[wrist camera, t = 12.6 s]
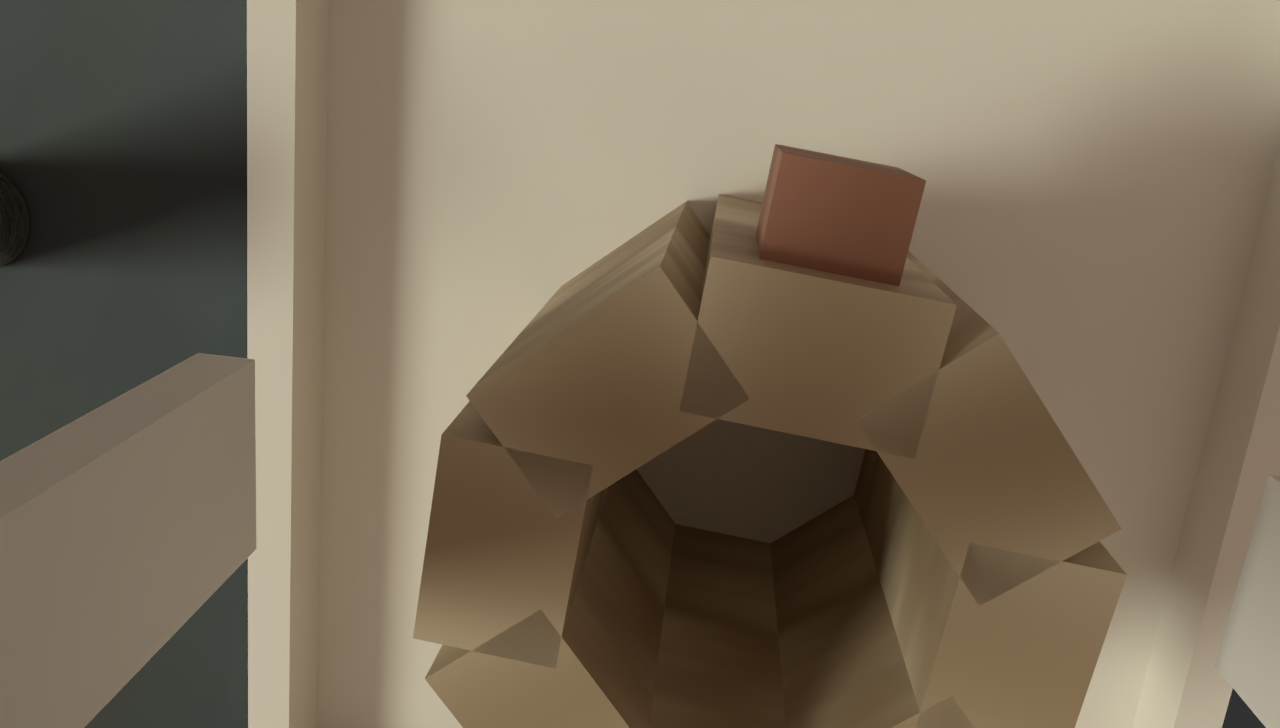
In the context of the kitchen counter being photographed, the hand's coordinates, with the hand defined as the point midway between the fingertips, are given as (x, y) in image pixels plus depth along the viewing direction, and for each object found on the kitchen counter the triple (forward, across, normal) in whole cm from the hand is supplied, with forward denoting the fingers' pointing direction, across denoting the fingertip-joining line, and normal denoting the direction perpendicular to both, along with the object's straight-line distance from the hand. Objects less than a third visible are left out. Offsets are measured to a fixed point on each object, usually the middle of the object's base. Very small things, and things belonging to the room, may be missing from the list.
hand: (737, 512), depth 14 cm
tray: (+6, 0, 0) cm, 6 cm away
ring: (+5, 0, -1) cm, 6 cm away
